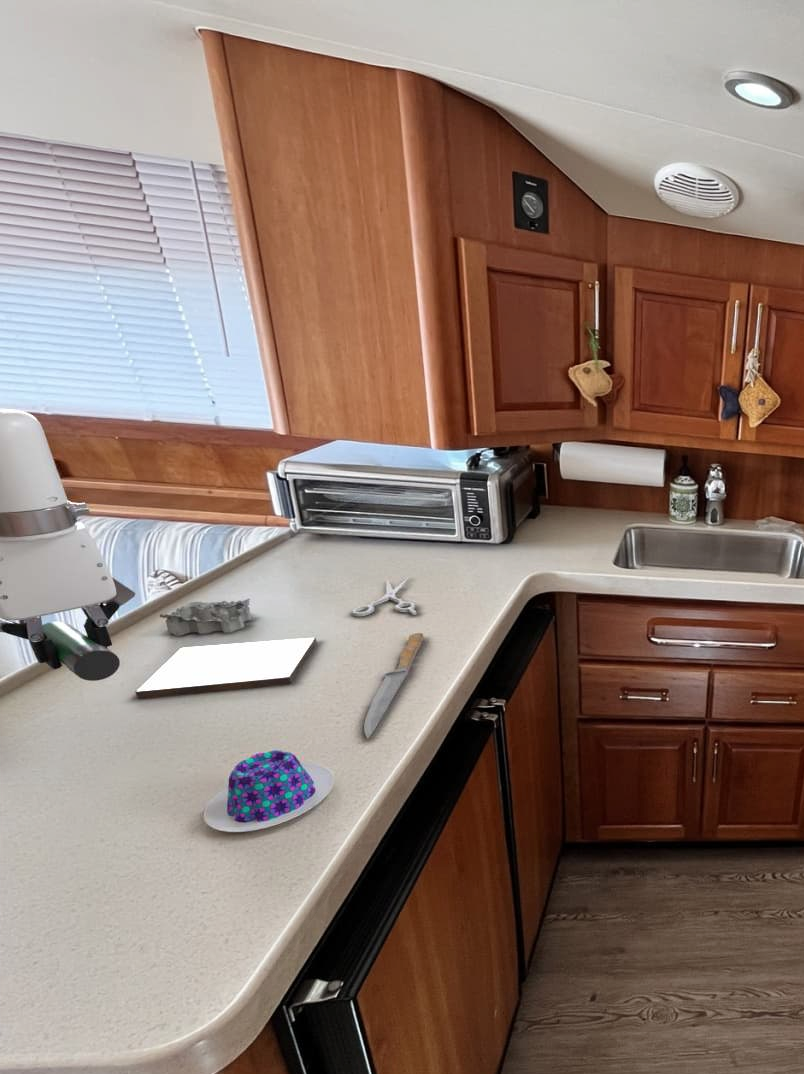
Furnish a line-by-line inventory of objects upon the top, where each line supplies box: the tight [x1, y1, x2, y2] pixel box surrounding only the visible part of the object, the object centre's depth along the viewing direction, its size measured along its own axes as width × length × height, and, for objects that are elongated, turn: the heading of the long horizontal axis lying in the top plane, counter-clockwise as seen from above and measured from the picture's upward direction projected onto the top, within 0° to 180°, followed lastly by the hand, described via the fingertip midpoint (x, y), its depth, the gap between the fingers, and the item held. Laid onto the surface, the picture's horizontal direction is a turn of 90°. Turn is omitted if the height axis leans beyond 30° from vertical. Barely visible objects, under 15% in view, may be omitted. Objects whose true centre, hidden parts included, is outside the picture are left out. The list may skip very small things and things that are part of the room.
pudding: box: [203, 749, 335, 833], centre depth 74 cm, size 12×12×5 cm
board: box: [135, 637, 318, 700], centre depth 99 cm, size 18×14×1 cm
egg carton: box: [159, 598, 253, 637], centre depth 111 cm, size 11×8×4 cm
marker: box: [42, 621, 121, 682], centre depth 80 cm, size 15×4×4 cm, turn 61°
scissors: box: [352, 577, 417, 617], centre depth 128 cm, size 11×1×20 cm
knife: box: [363, 632, 424, 740], centre depth 99 cm, size 31×1×3 cm
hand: (77, 657), depth 80 cm, fingers closed on marker, 3 cm apart
